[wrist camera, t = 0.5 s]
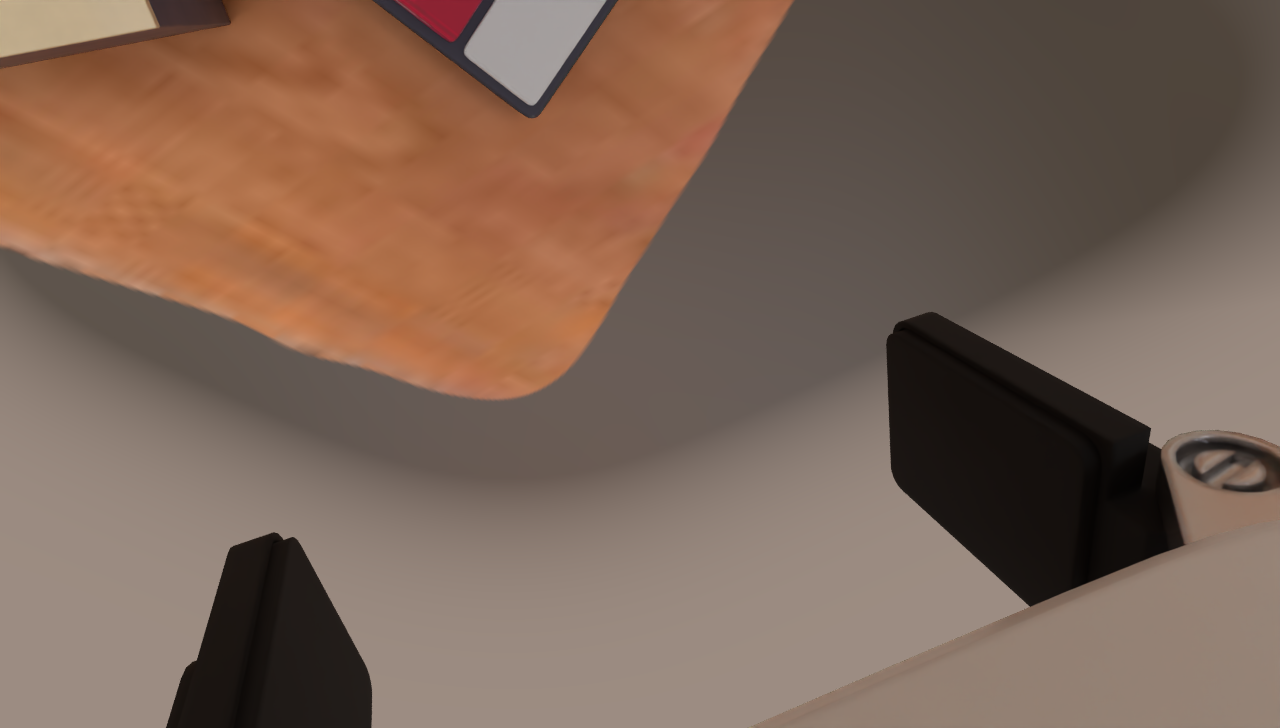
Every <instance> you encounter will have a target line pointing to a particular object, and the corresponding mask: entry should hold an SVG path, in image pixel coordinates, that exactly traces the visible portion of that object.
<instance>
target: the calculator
mask: <svg viewBox="0 0 1280 728" xmlns="http://www.w3.org/2000/svg"><path fill="white" fill-rule="evenodd" d="M373 1H374V2H375V3H377V4H378V5H379V6H381V7H382V8H383V9H384V10H386V11H387V12H388V13H390V14H391V15H392V16H394V17H395V18H396V19H398V20H399V21H400V22H402V23H403V24H404V25H405V26H407V27H408V28H409V29H411V30H412V31H413V32H415V33H416V34H417V35H419V36H420V37H421V38H423V39H424V40H425V41H426V42H428V43H429V44H430V45H432V46H433V47H434V48H436V49H437V50H438V51H440V52H441V53H442V54H444V55H445V56H446V57H447V58H449V59H450V60H451V61H453V62H454V63H455V64H457V65H458V66H459V67H461V68H462V69H463V70H464V71H466V72H467V73H468V74H470V75H471V76H472V77H474V78H475V79H476V80H478V81H479V82H480V83H482V84H483V85H484V86H485V87H487V88H488V89H489V90H491V91H492V92H493V93H495V94H496V95H497V96H499V97H500V98H501V99H503V100H504V101H505V102H507V103H508V104H509V105H510V106H512V107H513V108H514V109H516V110H517V111H519V112H520V113H522V114H523V115H525V116H526V117H528V118H536V117H538V116H539V115H540V114H541V112H542V111H543V109H544V108H545V107H546V105H547V104H548V102H549V101H550V99H551V98H552V96H553V95H554V93H555V92H556V90H557V89H558V87H559V86H560V85H561V83H562V82H563V80H564V79H565V77H566V76H567V74H568V73H569V71H570V70H571V68H572V67H573V65H574V64H575V62H576V61H577V60H578V58H579V57H580V55H581V54H582V52H583V51H584V49H585V48H586V46H587V45H588V43H589V42H590V40H591V39H592V38H593V36H594V35H595V33H596V32H597V30H598V29H599V27H600V26H601V24H602V23H603V21H604V20H605V18H606V17H607V15H608V14H609V13H610V11H611V10H612V8H613V7H614V5H615V4H616V2H617V1H618V0H373Z"/></svg>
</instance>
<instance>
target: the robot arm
mask: <svg viewBox="0 0 1280 728" xmlns="http://www.w3.org/2000/svg"><path fill="white" fill-rule="evenodd" d="M886 346H887V373H888V400H889V427H890V453H891V470H892V473H893V477H894V479H895V481H896V483H897V484H898V486H899V487H900V488H901V489H902V490H903V491H904V492H905V493H906V494H907V495H908V496H909V497H910V498H911V499H913V500H914V501H915V502H916V503H917V504H918V505H919V506H920V507H921V508H922V509H923V510H925V511H926V512H927V513H928V514H929V515H930V516H931V517H932V518H933V519H934V520H936V521H937V522H938V523H939V524H940V525H941V526H942V527H943V528H944V529H945V530H947V531H948V532H949V533H950V534H951V535H952V536H953V537H954V538H955V539H957V540H958V541H959V542H960V543H961V544H962V545H963V546H964V547H965V548H966V549H967V550H968V551H970V552H971V553H972V554H973V555H974V556H975V557H976V558H977V559H978V560H980V561H981V562H982V563H983V564H984V565H985V566H986V567H987V568H988V569H989V570H990V571H992V572H993V573H994V574H995V575H996V576H997V577H998V578H999V579H1000V580H1001V581H1002V582H1004V583H1005V584H1006V585H1007V586H1008V587H1009V588H1010V589H1011V590H1012V591H1014V592H1015V593H1016V594H1017V595H1018V596H1019V597H1020V598H1021V599H1022V600H1023V601H1024V602H1026V603H1027V604H1028V605H1029V606H1030V607H1029V608H1027V609H1024V610H1022V611H1020V612H1017V613H1015V614H1013V615H1010V616H1008V617H1005V618H1003V619H1001V620H998V621H996V622H994V623H991V624H989V625H987V626H984V627H982V628H980V629H977V630H975V631H972V632H970V633H968V634H966V635H963V636H961V637H958V638H956V639H954V640H951V641H949V642H947V643H944V644H942V645H940V646H937V647H935V648H932V649H930V650H928V651H926V652H923V653H921V654H918V655H916V656H914V657H911V658H909V659H907V660H904V661H902V662H900V663H897V664H895V665H893V666H891V667H888V668H886V669H883V670H881V671H879V672H877V673H874V674H872V675H869V676H867V677H865V678H863V679H860V680H858V681H856V682H853V683H851V684H849V685H847V686H844V687H842V688H839V689H837V690H835V691H832V692H830V693H828V694H825V695H823V696H821V697H819V698H816V699H814V700H812V701H809V702H807V703H805V704H802V705H800V706H798V707H796V708H793V709H791V710H789V711H786V712H784V713H782V714H779V715H777V716H775V717H772V718H770V719H768V720H765V721H763V722H761V723H758V724H756V725H754V726H751V727H749V728H1280V447H1279V446H1277V445H1275V444H1272V443H1269V442H1267V441H1265V440H1263V439H1260V438H1256V437H1253V436H1249V435H1245V434H1241V433H1236V432H1228V431H1220V430H1205V431H1204V430H1203V431H1202V430H1201V431H1193V432H1188V433H1183V434H1179V435H1178V436H1175V437H1173V438H1171V439H1170V440H1168V441H1167V442H1166V444H1165V445H1164V446H1163V447H1162V449H1160V448H1158V447H1156V446H1154V445H1153V444H1151V443H1149V437H1150V431H1151V428H1149V427H1148V426H1146V425H1144V424H1142V423H1140V422H1139V421H1137V420H1135V419H1133V418H1131V417H1129V416H1127V415H1125V414H1123V413H1122V412H1120V411H1118V410H1116V409H1114V408H1112V407H1111V406H1109V405H1107V404H1105V403H1103V402H1101V401H1099V400H1097V399H1096V398H1094V397H1092V396H1090V395H1088V394H1086V393H1084V392H1083V391H1081V390H1079V389H1077V388H1075V387H1073V386H1071V385H1069V384H1067V383H1066V382H1064V381H1062V380H1060V379H1058V378H1056V377H1054V376H1052V375H1051V374H1049V373H1047V372H1045V371H1043V370H1041V369H1039V368H1038V367H1036V366H1034V365H1032V364H1030V363H1028V362H1026V361H1024V360H1023V359H1021V358H1019V357H1017V356H1015V355H1013V354H1012V353H1010V352H1008V351H1006V350H1004V349H1002V348H1000V347H999V346H997V345H995V344H993V343H991V342H989V341H987V340H985V339H984V338H981V337H980V336H978V335H976V334H974V333H972V332H970V331H968V330H967V329H965V328H963V327H961V326H959V325H957V324H955V323H954V322H952V321H950V320H948V319H946V318H944V317H942V316H941V315H939V314H937V313H934V312H928V313H925V314H922V315H919V316H916V317H913V318H910V319H907V320H904V321H901V322H898V323H897V324H896V325H895V328H894V330H893V334H890V335H889V336H888V338H887V344H886ZM371 720H372V687H371V681H370V676H369V673H368V670H367V668H366V665H365V663H364V662H363V660H362V658H361V656H360V654H359V652H358V650H357V649H356V647H355V645H354V643H353V641H352V639H351V637H350V636H349V634H348V632H347V630H346V628H345V626H344V624H343V623H342V621H341V619H340V617H339V615H338V613H337V612H336V610H335V608H334V606H333V604H332V602H331V600H330V599H329V597H328V595H327V593H326V591H325V590H324V587H323V585H322V584H321V582H320V580H319V578H318V576H317V574H316V572H315V571H314V569H313V567H312V565H311V563H310V561H309V560H308V558H307V556H306V554H305V552H304V550H303V548H302V547H301V545H300V543H299V542H298V540H297V539H295V538H294V537H291V538H288V539H286V540H283V538H282V537H281V536H280V535H279V534H278V533H271V534H268V535H265V536H262V537H259V538H256V539H253V540H250V541H247V542H244V543H241V544H238V545H235V546H233V547H231V548H230V550H229V552H228V555H227V558H226V562H225V565H224V569H223V572H222V576H221V579H220V582H219V586H218V589H217V593H216V596H215V600H214V603H213V606H212V610H211V613H210V617H209V620H208V624H207V627H206V631H205V634H204V638H203V641H202V644H201V648H200V651H199V655H198V658H197V661H194V662H192V663H191V664H190V665H189V666H187V667H186V669H185V671H184V674H183V676H182V678H181V681H180V684H179V687H178V690H177V694H176V697H175V700H174V704H173V707H172V710H171V713H170V717H169V720H168V723H167V727H166V728H371Z"/></svg>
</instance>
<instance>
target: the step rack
mask: <svg viewBox="0 0 1280 728" xmlns="http://www.w3.org/2000/svg"><path fill="white" fill-rule="evenodd" d="M229 24H230V20H229V18H228V15H227V13H226V10H225V8H224V5H223V3H222V0H0V69H1V68H6V67H11V66H17V65H22V64H27V63H32V62H37V61H43V60H48V59H53V58H58V57H63V56H69V55H74V54H79V53H84V52H89V51H95V50H100V49H105V48H110V47H115V46H121V45H126V44H131V43H136V42H141V41H147V40H152V39H157V38H162V37H168V36H173V35H178V34H183V33H188V32H194V31H199V30H204V29H209V28H214V27H220V26H225V25H229Z"/></svg>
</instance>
